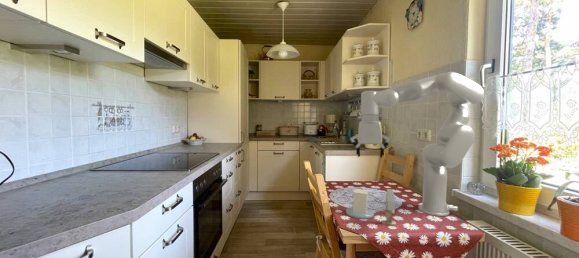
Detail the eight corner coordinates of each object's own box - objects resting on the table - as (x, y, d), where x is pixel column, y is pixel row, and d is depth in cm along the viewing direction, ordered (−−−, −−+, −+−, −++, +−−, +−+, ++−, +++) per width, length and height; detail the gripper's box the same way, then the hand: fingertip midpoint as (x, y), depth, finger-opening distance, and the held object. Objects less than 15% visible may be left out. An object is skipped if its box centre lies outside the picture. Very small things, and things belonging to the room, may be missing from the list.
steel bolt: (393, 197, 106) (393, 190, 106) (394, 210, 91) (395, 202, 91) (386, 196, 107) (387, 189, 107) (387, 210, 92) (387, 201, 92)
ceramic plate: (374, 211, 121) (374, 208, 121) (373, 220, 110) (373, 218, 110) (347, 207, 125) (347, 205, 125) (344, 216, 114) (344, 214, 114)
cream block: (367, 210, 119) (367, 190, 119) (366, 214, 114) (366, 193, 114) (354, 208, 121) (355, 189, 121) (353, 212, 116) (353, 192, 116)
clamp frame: (393, 211, 121) (394, 189, 120) (395, 226, 105) (396, 200, 104) (382, 210, 123) (383, 188, 122) (382, 224, 107) (383, 198, 106)
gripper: (349, 119, 117) (349, 157, 118) (391, 118, 112) (390, 158, 113) (350, 118, 124) (351, 154, 125) (390, 118, 119) (390, 156, 120)
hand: (370, 156), depth 119 cm, fingers open, 9 cm apart
